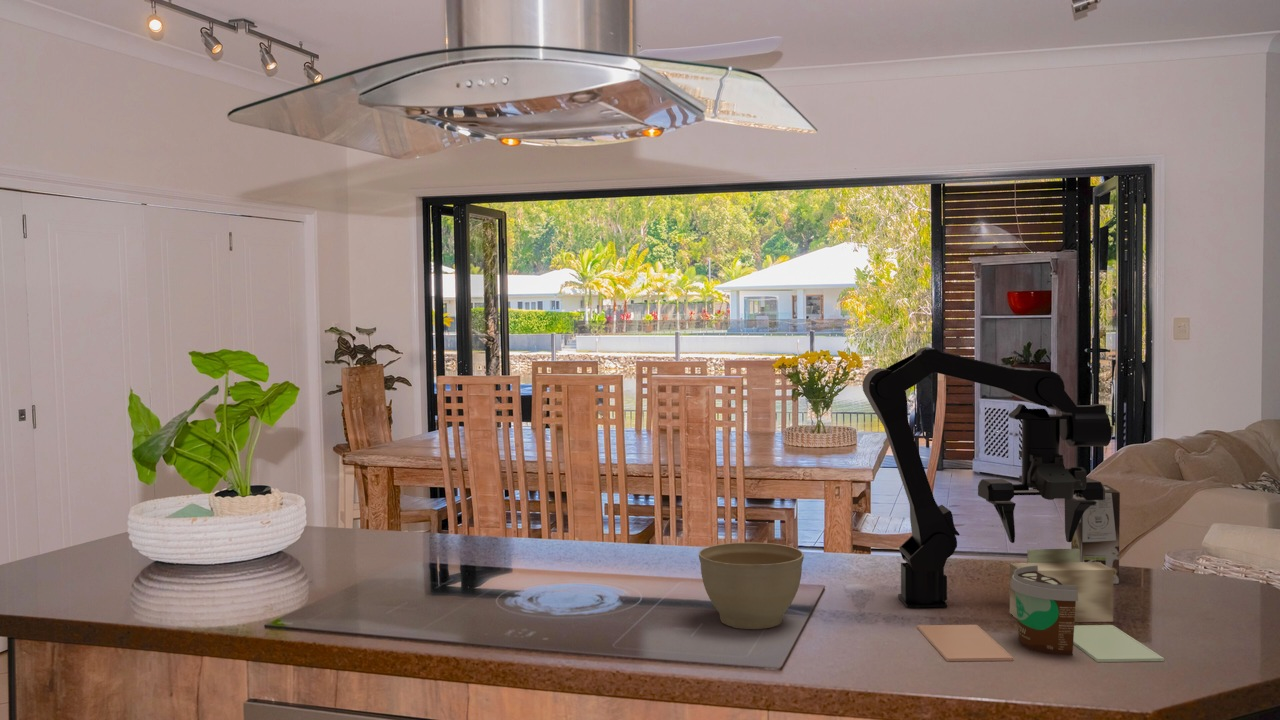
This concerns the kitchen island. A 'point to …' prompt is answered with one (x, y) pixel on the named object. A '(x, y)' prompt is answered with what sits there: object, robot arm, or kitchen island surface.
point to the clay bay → (964, 643)
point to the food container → (1044, 611)
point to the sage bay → (1111, 644)
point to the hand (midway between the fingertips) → (1040, 542)
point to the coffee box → (1100, 532)
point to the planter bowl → (751, 582)
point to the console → (1074, 581)
